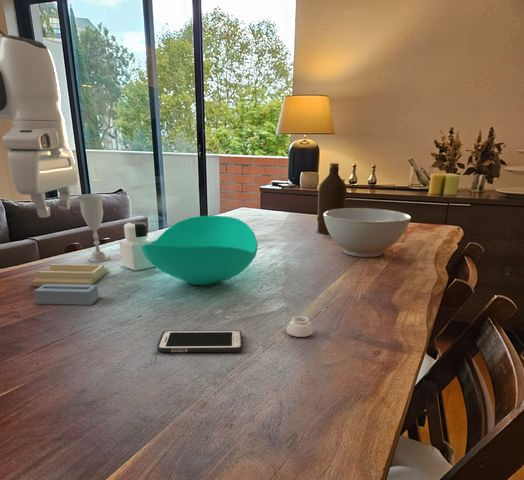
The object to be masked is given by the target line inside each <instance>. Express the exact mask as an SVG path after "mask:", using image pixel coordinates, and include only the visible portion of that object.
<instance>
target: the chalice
mask: <svg viewBox="0 0 524 480" xmlns="http://www.w3.org/2000/svg"><path fill="white" fill-rule="evenodd" d="M76 197H77V199H78V200H79V206H80V212H81V213H80V214H81V217H82V218H83V220H84V222H85V224H86V226H87V227H88V228H89V229H90V230H92V232H93V235H92V238H93V239H94V242H93V245H95V249H94V251H92V253H91V256H90V259H89V260H90V262H104V261H108V260H109V258H108V257H107V255H106V253H105V252H104V251H103V250H101V248H100V243H101V242H100V241H99V235H98V230H99V229H100V228H101V225H102V222H103V218H104V209H103V208H104V207H103V200H102V199H103V197H104V196H103V195H102V194H81V195H77V196H76Z"/></svg>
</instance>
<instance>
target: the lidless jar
mask: <svg viewBox="0 0 524 480" xmlns="http://www.w3.org/2000/svg"><path fill="white" fill-rule="evenodd" d="M286 333H287V334H288V335H290V336H291V337H292V336H293V337H296V338H305V337H309V336H311V335H313V333H314V328H313V326H312V324H311V322H310V321H309V318H308V317H307V316H303V315H297V316H293V317H292V319H291V321H290V322H289V323H288V325H287V327H286Z"/></svg>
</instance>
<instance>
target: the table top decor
mask: <svg viewBox="0 0 524 480" xmlns="http://www.w3.org/2000/svg"><path fill="white" fill-rule="evenodd" d="M153 241H154V242H152V243H150V244H144V245H143V246H142V250H143V253H144V255H145V257H146V258H147V259H148V260H149V261H150V262H151V263H152V264H153V265H154V266H155V267H154V268H157V269H158V270H160V271H161V272H163V273H164V274H167V275H169V276H171V277H174V278H176V279H179V280H182V281H184V282H186V283H188V284H190V285H193V286H210V285H214V284H216V283H218V282H222V281H226V280H230V279H231V278H233V277H236V276H238V275H239V274H240V273H241V272H243V271H244V270H246V269H247V268H248V267H249V266H250V265H251V263H252V262H253V261H254V259H255V258H256V256H257V252H258V246H259V245H258V240H257V237H256V234H255V232H254V231H253V230H252V228H251V227H250V225H248V224H247V223H245V222H244V221H243V220H240V219H239V218H236V217H231V216H224V215H200V216H193V217H192V216H191V217H189V218H186V219H183V220H180V221H178V222H176V223H174V224H173V225H172V226H170V227H168V228H167V229H165V230H164V232H162V233H161V234H160V236H159V237H158V238H157V239H156V240H153Z"/></svg>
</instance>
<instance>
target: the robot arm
mask: <svg viewBox="0 0 524 480" xmlns="http://www.w3.org/2000/svg"><path fill="white" fill-rule="evenodd" d="M56 70H57V69H56V67H55V62H54V60H53V56H52V54H51V51H50V50H49V48H48V47H47V46H46V44H44V43H43V42H42V41H39V40H35V39H30V38H25V37H22V36H16V35H11V34H5V32H3V31H2V30H1V29H0V119H2V120H12V125H13V127H12V128H11V129H10V130H8V132H6V133H5V134H4V135H3V136H2V142H3V146H4V149H5V150H9V151H8V155H7V156H8V157H7V158H8V163H9V169H10V173H11V178H12V181H13V186H14V187H15V190H16V191H17V192H18V193H19V195H26V196H27V195H29V196H30V199H31V201H32V202H33V205H34V207H35V208H36V211H37V216H38V218H48V217H50V216H51V209H50V207H49V206H48V205H47V202H46V200H45V199H46V193H48V192H53V191H56V190H57V192H58V201H57V204H58V209H59V210H60V211H68V210H70V209H71V205H70V198H71V187H72V186H76V185H78V180H79V177H78V172H77V166H76V161H75V158H74V154H73V151H72V150H71V148H70V147H69V143H68V136H67V131H66V125H65V118H64V116H63V114H62V111H61V93H60V92H61V91H60V86H59V85H60V84H59V80H58V75H57V71H56Z"/></svg>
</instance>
